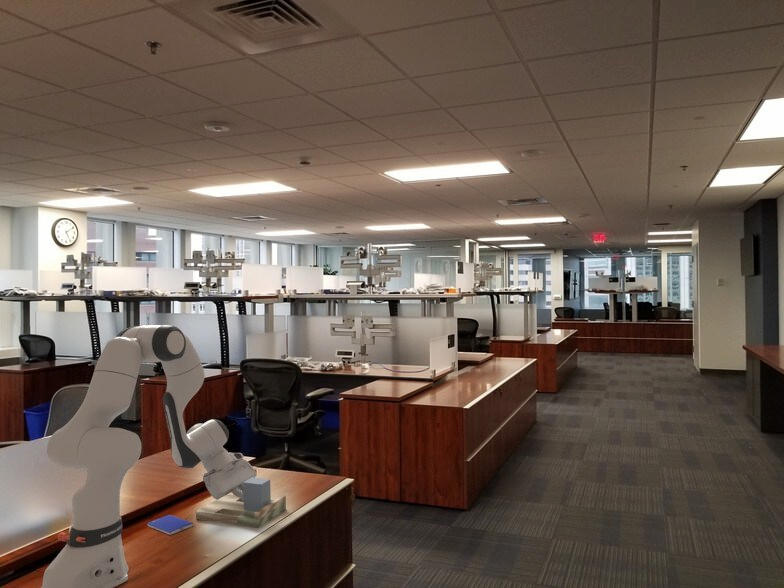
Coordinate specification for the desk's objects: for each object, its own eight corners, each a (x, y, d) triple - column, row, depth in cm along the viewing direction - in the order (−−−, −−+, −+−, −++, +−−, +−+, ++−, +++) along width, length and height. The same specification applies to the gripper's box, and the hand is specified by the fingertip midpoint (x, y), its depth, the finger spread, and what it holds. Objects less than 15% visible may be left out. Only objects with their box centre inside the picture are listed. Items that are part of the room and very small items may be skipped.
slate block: (262, 512, 185) (261, 484, 185) (243, 509, 188) (243, 482, 187) (270, 506, 190) (270, 479, 190) (252, 504, 192) (252, 477, 192)
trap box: (258, 527, 179) (258, 513, 179) (196, 518, 188) (195, 505, 188) (286, 509, 194) (285, 495, 194) (226, 501, 202) (226, 488, 202)
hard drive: (147, 522, 183) (170, 531, 176) (170, 514, 189) (193, 522, 182) (147, 527, 183) (170, 536, 176) (170, 518, 190) (193, 527, 182)
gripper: (205, 469, 183) (232, 503, 179) (244, 451, 202) (269, 482, 199) (194, 482, 185) (221, 516, 181) (234, 463, 204) (258, 493, 200)
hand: (246, 498), depth 190 cm, fingers closed, pressing on slate block
